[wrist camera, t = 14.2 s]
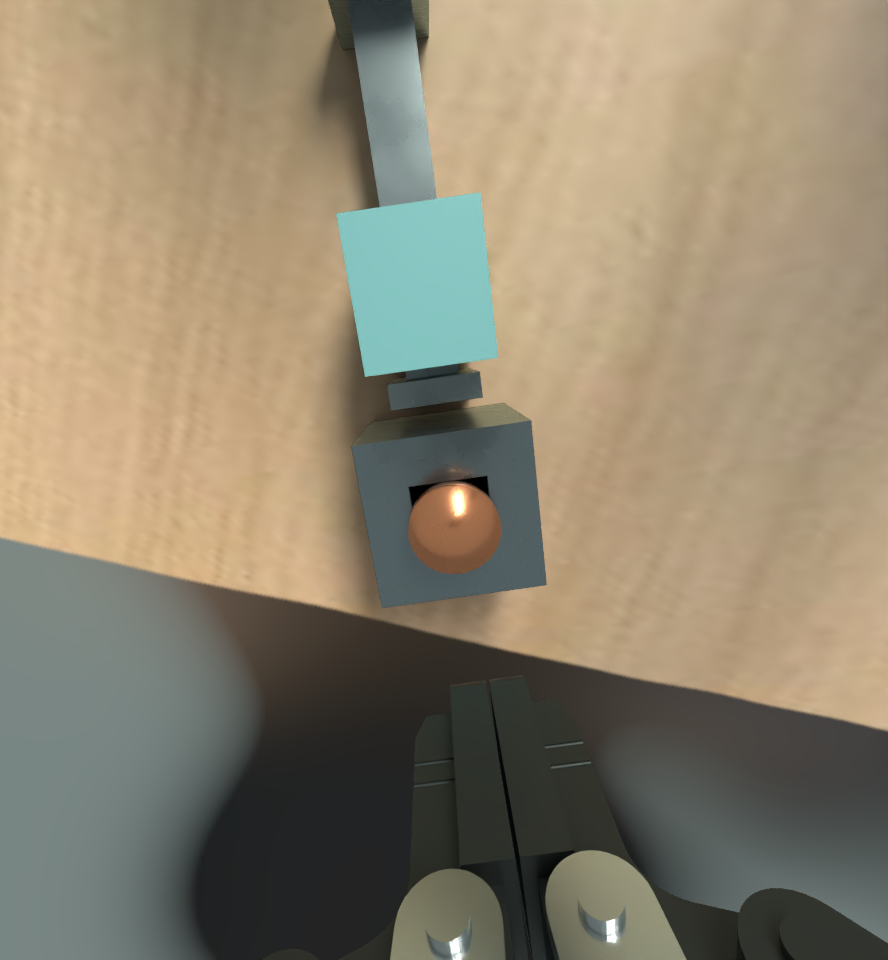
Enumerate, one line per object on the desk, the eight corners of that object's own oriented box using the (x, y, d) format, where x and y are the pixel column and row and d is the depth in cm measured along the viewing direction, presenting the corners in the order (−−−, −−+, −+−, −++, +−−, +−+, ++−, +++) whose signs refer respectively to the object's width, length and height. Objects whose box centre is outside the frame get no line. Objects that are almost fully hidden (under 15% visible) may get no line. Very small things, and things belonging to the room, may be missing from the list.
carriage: (363, 253, 26) (336, 213, 18) (465, 238, 25) (480, 192, 18) (382, 370, 27) (365, 377, 20) (479, 356, 27) (498, 357, 20)
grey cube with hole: (371, 421, 29) (351, 446, 22) (504, 402, 29) (531, 420, 22) (393, 545, 31) (381, 608, 24) (517, 527, 31) (546, 584, 24)
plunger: (408, 459, 27) (401, 493, 20) (479, 449, 27) (495, 479, 20) (419, 526, 28) (415, 579, 21) (488, 517, 28) (506, 567, 21)
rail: (337, 20, 24) (308, -84, 18) (425, 8, 24) (423, -102, 18) (398, 399, 29) (390, 410, 23) (471, 388, 29) (482, 397, 23)
